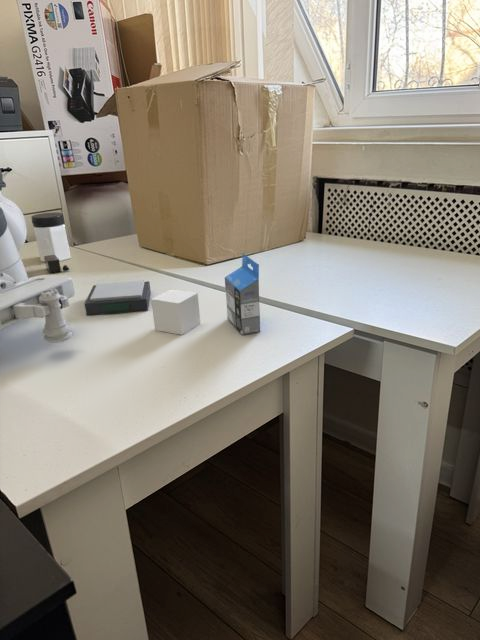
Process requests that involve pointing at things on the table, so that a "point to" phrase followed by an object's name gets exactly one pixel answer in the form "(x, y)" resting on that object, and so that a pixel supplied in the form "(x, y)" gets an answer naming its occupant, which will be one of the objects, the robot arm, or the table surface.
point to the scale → (118, 297)
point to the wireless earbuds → (54, 264)
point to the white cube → (176, 311)
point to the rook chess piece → (54, 318)
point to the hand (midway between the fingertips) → (56, 307)
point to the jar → (51, 235)
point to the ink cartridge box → (244, 297)
